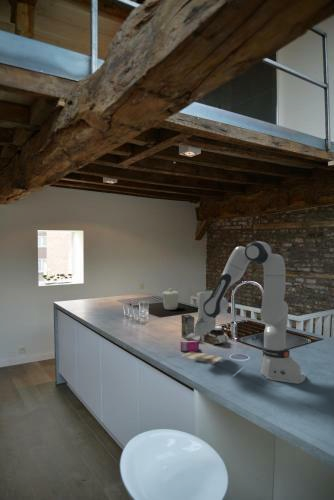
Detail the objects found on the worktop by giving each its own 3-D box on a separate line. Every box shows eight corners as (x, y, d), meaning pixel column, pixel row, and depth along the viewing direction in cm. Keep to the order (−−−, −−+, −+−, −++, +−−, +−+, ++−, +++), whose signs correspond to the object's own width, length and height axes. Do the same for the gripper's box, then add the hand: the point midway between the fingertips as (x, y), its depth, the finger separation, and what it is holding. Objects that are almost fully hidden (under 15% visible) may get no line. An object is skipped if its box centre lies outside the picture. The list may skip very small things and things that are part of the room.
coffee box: (181, 336, 251) (181, 315, 250) (189, 335, 253) (189, 314, 253) (186, 340, 242) (186, 317, 242) (194, 339, 245) (194, 316, 244)
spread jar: (208, 344, 234) (208, 327, 233) (213, 339, 243) (213, 323, 243) (224, 346, 228) (224, 329, 227) (230, 342, 238) (230, 325, 237)
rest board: (222, 358, 205) (222, 357, 205) (213, 365, 195) (213, 363, 195) (191, 352, 217) (191, 350, 217) (181, 357, 207) (181, 356, 207)
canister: (176, 311, 337) (176, 290, 337) (159, 310, 344) (159, 289, 343) (181, 307, 354) (181, 287, 354) (165, 306, 361) (165, 286, 360)
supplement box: (198, 350, 222) (180, 349, 222) (198, 340, 222) (180, 340, 223) (198, 351, 216) (180, 351, 216) (198, 341, 217) (180, 341, 217)
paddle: (216, 342, 205) (217, 336, 204) (211, 346, 198) (212, 339, 198) (191, 334, 213) (192, 328, 213) (185, 338, 206) (186, 332, 206)
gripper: (201, 321, 193) (201, 345, 194) (217, 314, 210) (217, 336, 211) (191, 319, 197) (191, 343, 198) (208, 313, 214) (208, 334, 214)
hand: (205, 339), depth 204 cm, fingers closed on paddle, 3 cm apart
